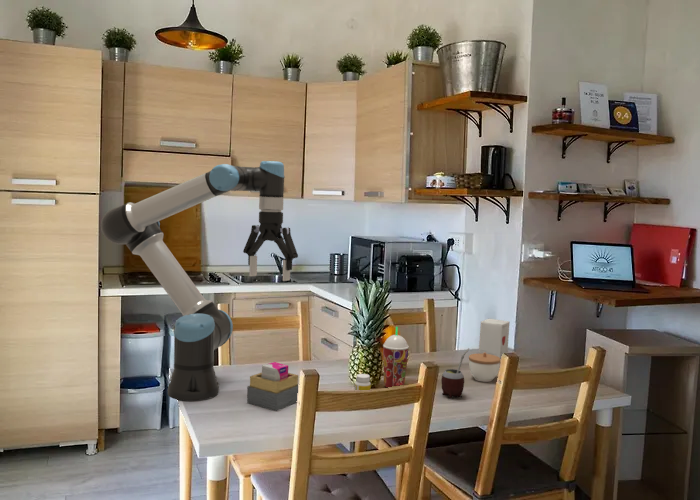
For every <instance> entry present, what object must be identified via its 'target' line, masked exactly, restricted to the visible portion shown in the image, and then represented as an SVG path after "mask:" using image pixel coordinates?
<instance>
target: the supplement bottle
mask: <svg viewBox="0 0 700 500" xmlns="http://www.w3.org/2000/svg"><path fill="white" fill-rule="evenodd" d="M355 378H356V379H355V380H356V381H355V382H354V391H355V390H370V389H371V387H372V384H371V382H370V381H371V377H370V374H368V373H367V374H366V373H358V374H356V376H355ZM371 390H372V389H371Z"/></svg>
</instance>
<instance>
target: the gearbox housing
mask: <svg viewBox="0 0 700 500" xmlns="http://www.w3.org/2000/svg"><path fill="white" fill-rule="evenodd" d="M261 377H262V372H259V373H256V374H252V375H251V376H249V385H247V387H246V388H247V395H246V396H247V398H246V403H247V404H249V405H251V406H252V405H253V406H256V407H261V408H264V409H267V410H271V411H275V412H278V411H281V410H283V409H284V408H285V409H286V407H287V408H288V407H290V406H292V405H294V404H297V403H296V401H297V393H298V384H299V375H298V374H295V373H291V372H288V377H287V378H284V379H282V380H279V381H272V380H268V379H264V378H261Z"/></svg>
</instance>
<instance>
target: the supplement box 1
mask: <svg viewBox="0 0 700 500" xmlns="http://www.w3.org/2000/svg"><path fill="white" fill-rule="evenodd" d="M261 373H262V377H261V378H264V379H268V380H272V381H279V380H282V379H284V378H287V377H288V373H289V364H283V363H279V362H277V361H273V362H270V363H266V364H263V365H261Z"/></svg>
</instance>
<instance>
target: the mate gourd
mask: <svg viewBox="0 0 700 500" xmlns="http://www.w3.org/2000/svg"><path fill="white" fill-rule="evenodd" d="M469 350H470V348H469V347H468V348H467V349H466V350H465V351H464V352H463V353H462V355H461V357H460V361H459V364H458V367H457V369H455V368H454V369H453V368H452V369H451V368H450V369H449V368H448V369H445V371H443V373H442V375H441V382H440V383H441V389H442V393H441V396H446V397H448V400H451V399H453V398H459V399H462V398H463V395H462V394H463V392H464V389H465V388H464V386H465V376H464V374H463V372H462V371H461V367H462V362H463V359H464V358H465V355H466V353H468V351H469Z"/></svg>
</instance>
